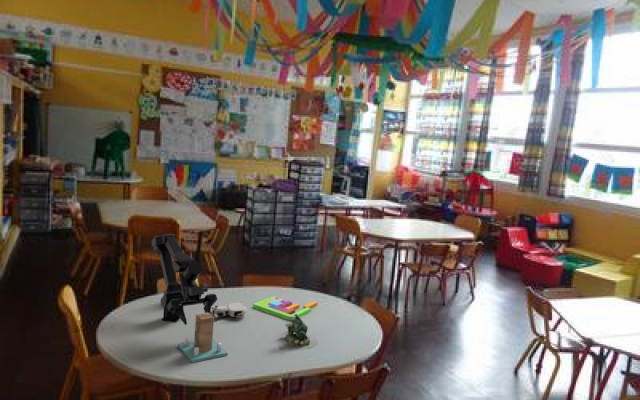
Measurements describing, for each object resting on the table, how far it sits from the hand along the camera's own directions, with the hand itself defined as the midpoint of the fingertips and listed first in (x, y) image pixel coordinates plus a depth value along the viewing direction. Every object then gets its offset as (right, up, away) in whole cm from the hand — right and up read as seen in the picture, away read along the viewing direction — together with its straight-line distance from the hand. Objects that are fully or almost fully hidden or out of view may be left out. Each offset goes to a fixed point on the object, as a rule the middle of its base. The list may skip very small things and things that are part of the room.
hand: (197, 322), depth 196 cm
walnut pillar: (+3, -9, -4) cm, 10 cm away
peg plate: (+3, -10, -4) cm, 11 cm away
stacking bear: (-16, -1, +46) cm, 49 cm away
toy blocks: (+32, -5, +50) cm, 59 cm away
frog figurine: (+38, -11, +14) cm, 42 cm away
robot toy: (+6, -5, +33) cm, 34 cm away
